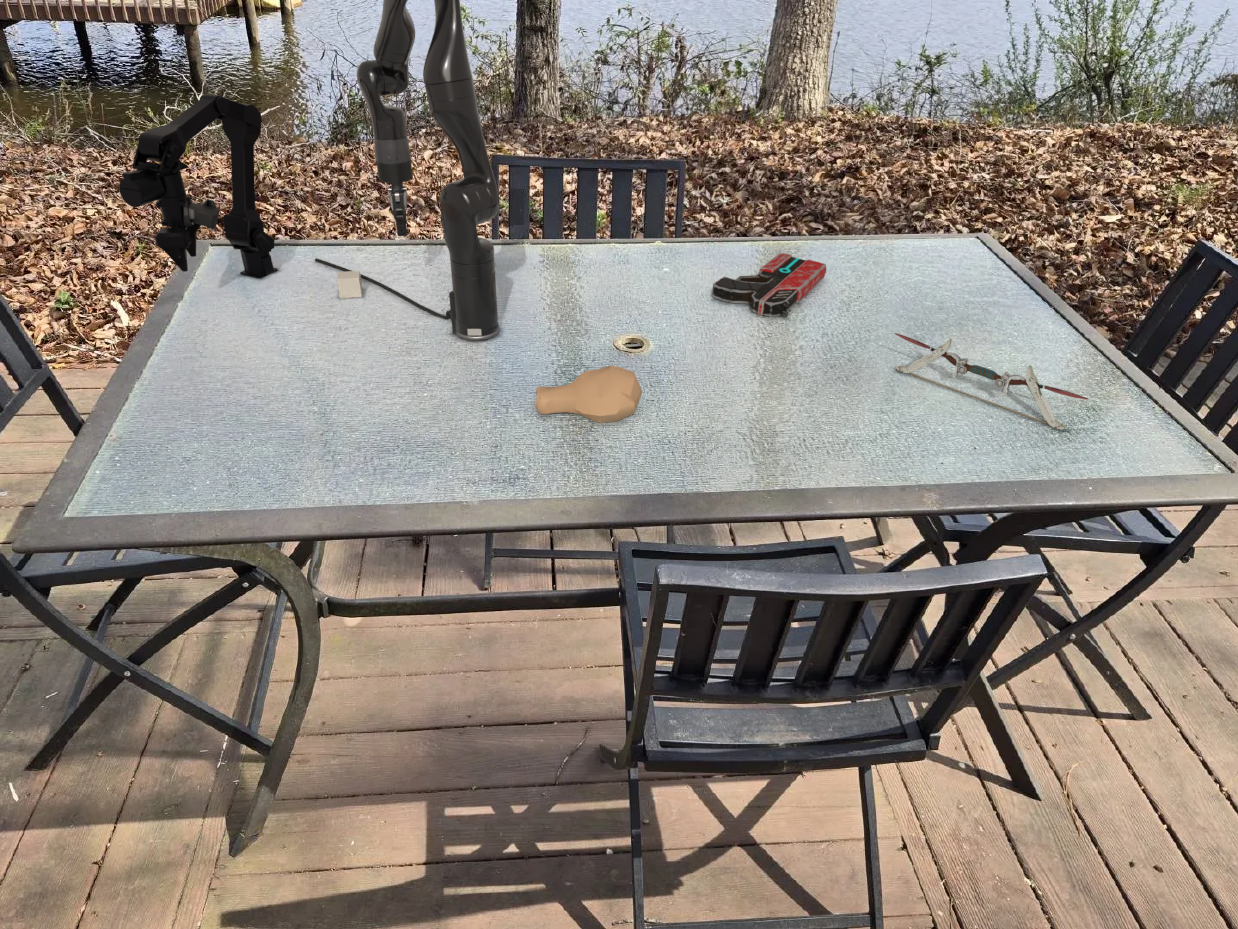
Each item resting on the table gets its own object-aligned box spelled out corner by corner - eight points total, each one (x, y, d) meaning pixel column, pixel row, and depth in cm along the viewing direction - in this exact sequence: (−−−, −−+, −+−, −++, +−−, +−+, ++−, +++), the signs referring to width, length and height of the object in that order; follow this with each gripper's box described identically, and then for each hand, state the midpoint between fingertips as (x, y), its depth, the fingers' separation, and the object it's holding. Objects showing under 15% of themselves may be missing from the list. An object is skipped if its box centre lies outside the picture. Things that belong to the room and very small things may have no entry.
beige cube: (361, 297, 207) (358, 277, 205) (339, 298, 206) (336, 279, 204) (362, 289, 211) (359, 270, 208) (341, 290, 210) (338, 271, 207)
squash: (644, 429, 161) (640, 391, 154) (537, 437, 162) (528, 400, 156) (643, 392, 168) (639, 354, 162) (541, 400, 170) (533, 363, 164)
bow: (1077, 432, 163) (1095, 385, 158) (1074, 436, 162) (1091, 388, 156) (889, 364, 184) (899, 320, 179) (885, 367, 183) (895, 323, 178)
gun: (708, 284, 207) (784, 305, 199) (760, 245, 229) (831, 262, 221) (706, 302, 209) (781, 323, 201) (758, 261, 231) (828, 278, 223)
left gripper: (202, 206, 182) (220, 277, 191) (218, 180, 197) (234, 247, 206) (145, 208, 180) (165, 280, 189) (165, 181, 195) (183, 249, 204)
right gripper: (411, 165, 189) (419, 238, 197) (410, 149, 200) (418, 219, 209) (375, 166, 187) (385, 240, 196) (376, 150, 199) (386, 221, 208)
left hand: (189, 263), depth 197 cm, fingers open, 9 cm apart
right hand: (402, 229), depth 203 cm, fingers open, 8 cm apart
